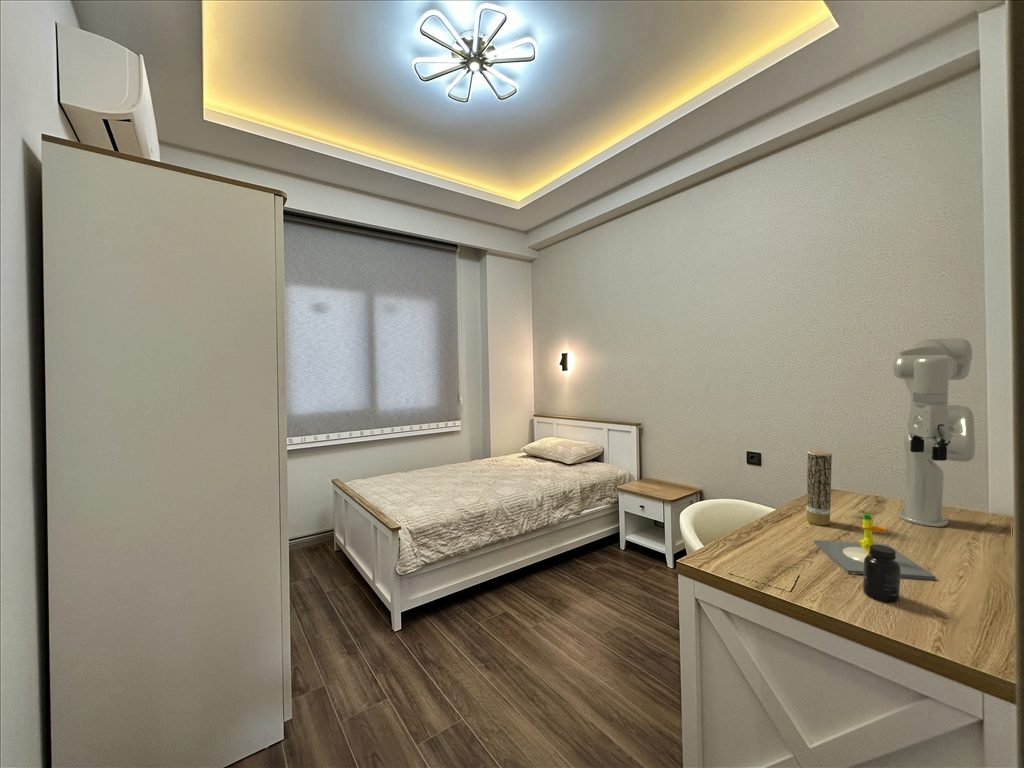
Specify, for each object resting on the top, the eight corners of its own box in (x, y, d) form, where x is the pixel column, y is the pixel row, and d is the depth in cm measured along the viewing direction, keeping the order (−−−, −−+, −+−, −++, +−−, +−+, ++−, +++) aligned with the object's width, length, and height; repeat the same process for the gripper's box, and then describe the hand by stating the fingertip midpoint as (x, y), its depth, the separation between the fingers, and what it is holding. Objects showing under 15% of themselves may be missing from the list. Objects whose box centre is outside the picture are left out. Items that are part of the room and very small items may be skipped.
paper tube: (833, 526, 151) (835, 454, 150) (811, 525, 152) (813, 453, 151) (824, 519, 158) (825, 450, 156) (802, 518, 159) (804, 449, 158)
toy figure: (887, 557, 125) (885, 514, 125) (888, 561, 122) (886, 518, 122) (856, 552, 129) (855, 511, 129) (857, 556, 126) (855, 514, 126)
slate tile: (813, 543, 138) (813, 539, 138) (887, 547, 134) (887, 543, 134) (847, 573, 119) (847, 569, 119) (935, 580, 115) (935, 575, 115)
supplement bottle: (855, 589, 111) (856, 543, 110) (880, 588, 111) (882, 541, 111) (880, 605, 104) (882, 555, 103) (907, 603, 105) (909, 553, 104)
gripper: (897, 395, 140) (895, 448, 141) (934, 403, 123) (932, 463, 124) (925, 395, 138) (923, 449, 139) (967, 402, 121) (964, 464, 123)
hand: (927, 455), depth 132 cm, fingers open, 9 cm apart
